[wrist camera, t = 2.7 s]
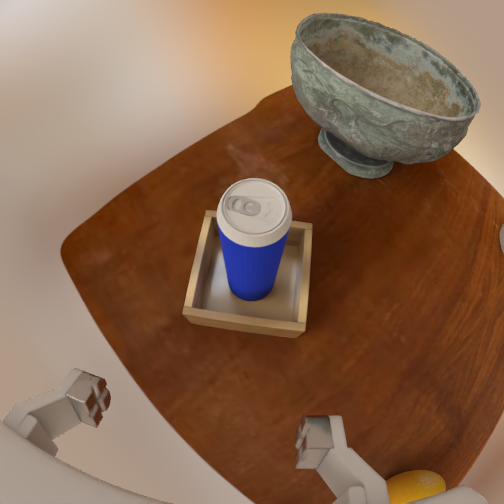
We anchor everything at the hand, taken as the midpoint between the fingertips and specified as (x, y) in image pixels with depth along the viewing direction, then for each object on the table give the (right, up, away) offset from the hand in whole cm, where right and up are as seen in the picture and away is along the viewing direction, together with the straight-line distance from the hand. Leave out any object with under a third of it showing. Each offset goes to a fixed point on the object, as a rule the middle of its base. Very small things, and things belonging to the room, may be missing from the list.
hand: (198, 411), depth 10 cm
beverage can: (+2, +3, +23) cm, 23 cm away
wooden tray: (+2, +3, +23) cm, 23 cm away
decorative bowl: (+19, +23, +32) cm, 44 cm away
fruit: (+19, -23, +11) cm, 32 cm away
